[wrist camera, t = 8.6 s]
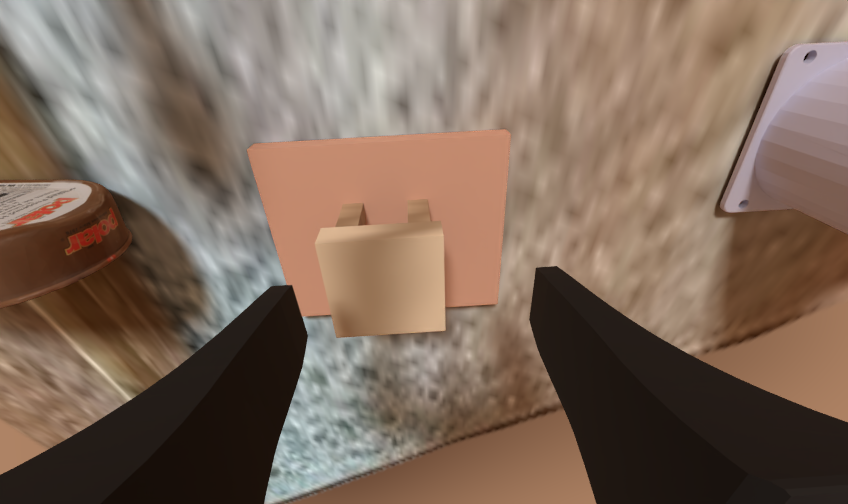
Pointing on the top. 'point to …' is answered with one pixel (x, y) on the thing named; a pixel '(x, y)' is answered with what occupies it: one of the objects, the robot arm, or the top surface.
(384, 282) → the toy stool
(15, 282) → the tin
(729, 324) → the top surface
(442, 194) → the mat
